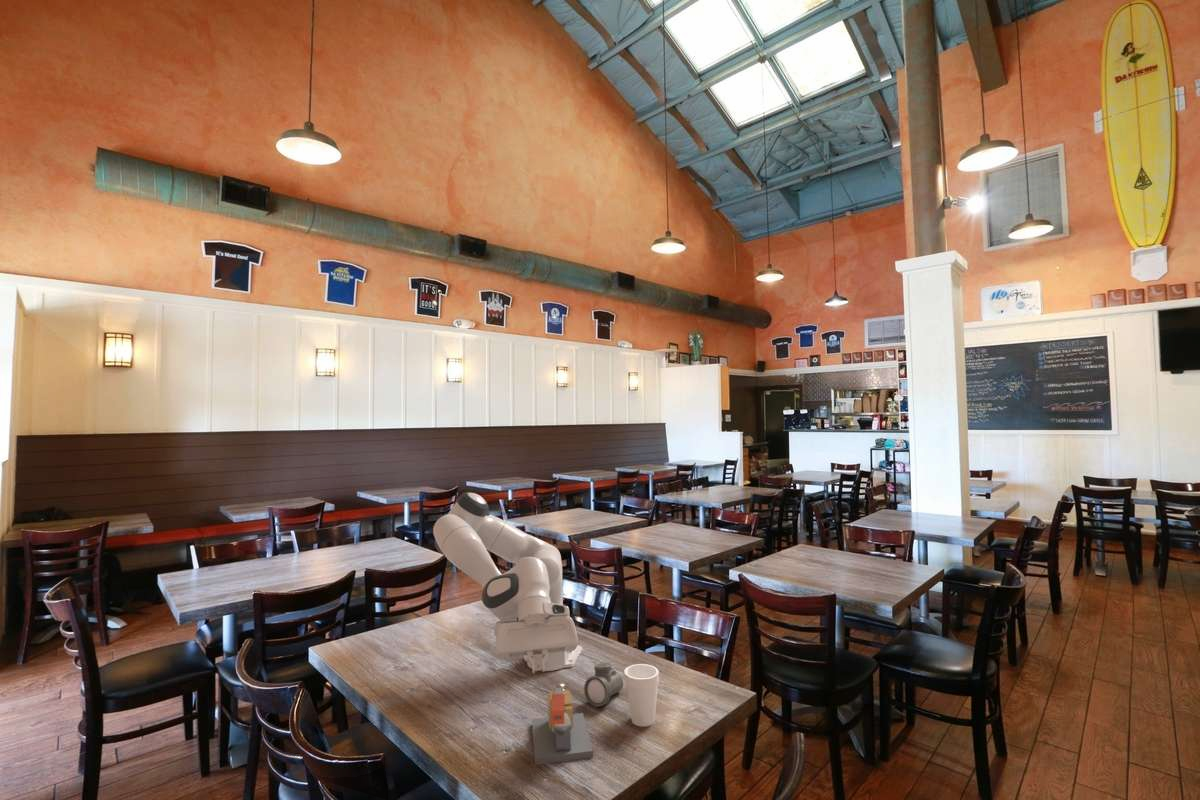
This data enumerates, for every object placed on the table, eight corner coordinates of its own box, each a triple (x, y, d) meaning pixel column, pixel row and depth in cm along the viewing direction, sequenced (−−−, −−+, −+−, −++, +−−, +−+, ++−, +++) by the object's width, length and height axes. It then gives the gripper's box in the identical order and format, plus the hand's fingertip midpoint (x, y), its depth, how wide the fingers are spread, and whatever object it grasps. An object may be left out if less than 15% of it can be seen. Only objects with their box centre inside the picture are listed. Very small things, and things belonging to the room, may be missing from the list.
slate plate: (583, 718, 149) (583, 712, 149) (592, 757, 131) (592, 750, 131) (532, 724, 147) (532, 718, 147) (535, 764, 129) (534, 758, 129)
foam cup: (632, 732, 141) (630, 681, 142) (621, 714, 150) (619, 667, 151) (665, 725, 144) (664, 676, 145) (652, 708, 153) (651, 661, 154)
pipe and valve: (568, 716, 147) (567, 674, 148) (575, 750, 132) (574, 703, 132) (547, 719, 146) (546, 677, 147) (551, 753, 131) (550, 706, 131)
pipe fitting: (606, 710, 152) (605, 671, 154) (583, 705, 157) (582, 667, 159) (628, 697, 162) (627, 660, 164) (606, 692, 166) (605, 657, 168)
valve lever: (554, 690, 141) (553, 678, 141) (565, 689, 141) (565, 677, 141) (551, 724, 125) (550, 711, 125) (564, 723, 125) (563, 710, 125)
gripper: (493, 614, 135) (493, 671, 124) (574, 606, 138) (581, 661, 128) (494, 625, 139) (494, 682, 129) (573, 617, 142) (579, 672, 132)
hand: (538, 671), depth 128 cm, fingers closed
